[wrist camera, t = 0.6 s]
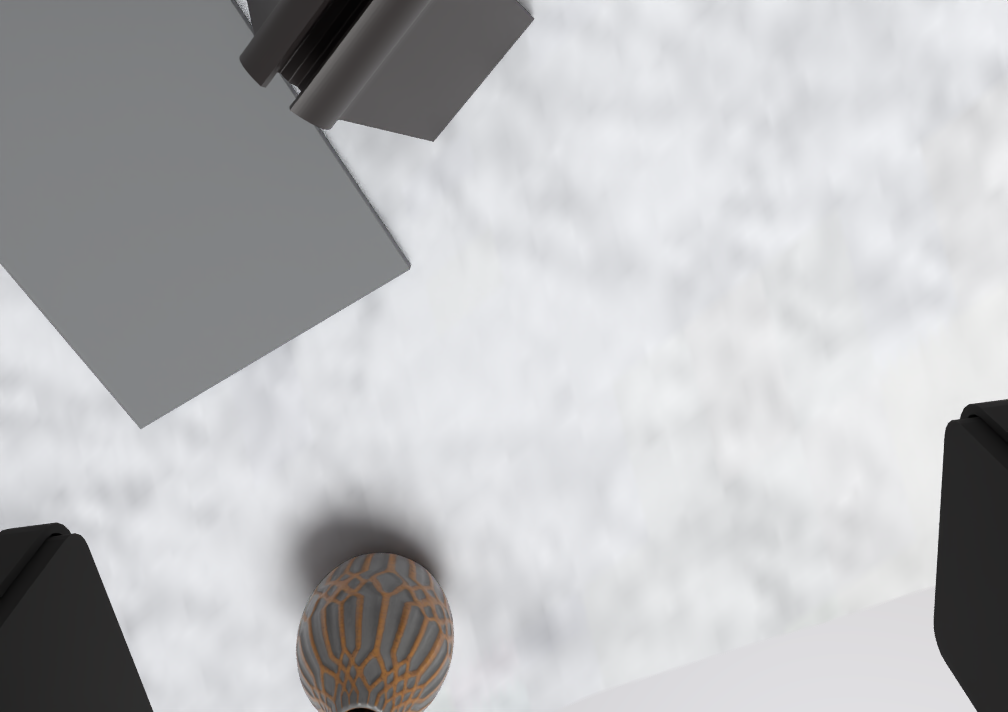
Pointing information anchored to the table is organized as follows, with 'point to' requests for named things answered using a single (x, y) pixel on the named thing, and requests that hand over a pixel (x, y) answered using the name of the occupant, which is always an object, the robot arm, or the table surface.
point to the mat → (170, 196)
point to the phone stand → (381, 57)
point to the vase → (375, 637)
